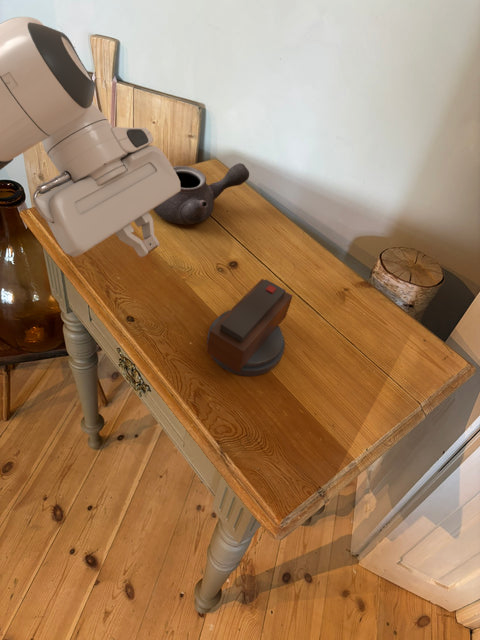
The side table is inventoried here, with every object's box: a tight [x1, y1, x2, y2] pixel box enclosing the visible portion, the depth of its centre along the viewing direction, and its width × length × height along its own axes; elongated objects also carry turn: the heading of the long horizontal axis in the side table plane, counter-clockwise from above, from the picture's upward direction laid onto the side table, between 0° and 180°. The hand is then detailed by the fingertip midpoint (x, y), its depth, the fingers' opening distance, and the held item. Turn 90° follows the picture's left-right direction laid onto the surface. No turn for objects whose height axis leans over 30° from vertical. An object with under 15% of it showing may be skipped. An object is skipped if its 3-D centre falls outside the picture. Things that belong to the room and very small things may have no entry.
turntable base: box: [206, 319, 286, 377], centre depth 72 cm, size 12×12×2 cm
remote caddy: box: [206, 278, 293, 372], centre depth 68 cm, size 14×11×7 cm
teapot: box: [152, 162, 250, 225], centre depth 90 cm, size 19×15×10 cm
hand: (150, 251), depth 64 cm, fingers closed
